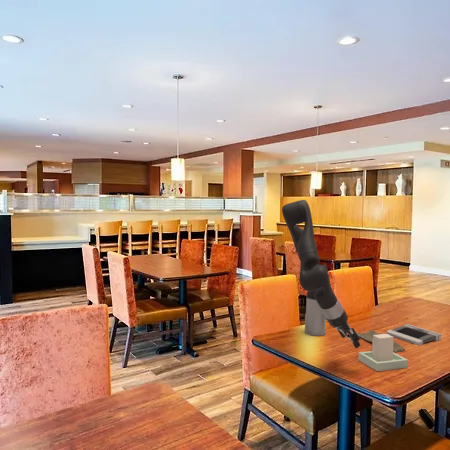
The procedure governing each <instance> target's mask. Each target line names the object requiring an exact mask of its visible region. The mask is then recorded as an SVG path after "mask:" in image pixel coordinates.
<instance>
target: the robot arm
mask: <svg viewBox="0 0 450 450" xmlns="http://www.w3.org/2000/svg"><path fill="white" fill-rule="evenodd" d="M281 212H282V216H283V220H284V222H285V224H286V226H287V229H288V232H289V233H290V236H291V239H292V242H293V245H294V248H295V252H296V254H297V257H298V259H299V262H300V267H299V269H300V270H299V283H300V286H301V288H302V289H303V290H304V291H307V292H306V306H305V308H306V309H305V310H306V311H305V315H304V334H307V335H310V336H314V337H316V336H317V337H319V336H320V337H321V336H325V335H326V328H327V327H326V322H328V325H330V326H331V327H333V328H334V329H335V330H336V331H337V332H338V333H339V335H340V336H341V338H342V339H345V338H347V339H349V341H351V343H352V345H353V347H354V349H358V348H360V347H361V343H360V340H361V337H358V335H357V333H358V332H356V330H355V328H354V327H351V326H350V324H349V323H348V320H349V315H348V314H347V312H346V311H345V308H344V306H343V305H342V302H341V301H340V300H339V299H338V298H337V296H336V294H335V293H334V290H333V288H332V285H331V279H330V274H329V270H328V267H327V265H325V264H324V265H323V264H319V263H320V256H319V253H318V247H317V243H316V239H315V233H314V225H313V218H312V217H313V216H312V212H311V208H310V205H309V203H308V202H307V200H306V199H300V200H296V201H292V202H290V203H286V204H284V205H283V206H282V208H281ZM303 223H304V227H303V228H301V227H299V225H300V224H303Z"/></svg>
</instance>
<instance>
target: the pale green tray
mask: <svg viewBox="0 0 450 450" xmlns="http://www.w3.org/2000/svg"><path fill="white" fill-rule="evenodd" d="M357 360H358V361H360V362H361V363H363V364H364V365H366V366H368V367H369V368H371V369H372V370H374V371H376V372H384V371H392V370H398V369H406V368H408V366H409V359H408V358H405V357H403V356H401V355H400V354H398V353H396V352H393V360H390V361H382V362H377V361H375V360H374V359H372V350H371V351H370V350H369V351H360V352H358V359H357Z"/></svg>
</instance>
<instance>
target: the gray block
mask: <svg viewBox="0 0 450 450" xmlns="http://www.w3.org/2000/svg"><path fill="white" fill-rule="evenodd" d="M394 339H395V338H394V337H392V336H390V335H388V334H387V333H379V335H373V342H371V343H372V345H371V346H372V348H371V351H372V359H374V360H375V361H377V362H382V361H390V360H393V341H395V340H394Z"/></svg>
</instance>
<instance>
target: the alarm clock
mask: <svg viewBox="0 0 450 450" xmlns="http://www.w3.org/2000/svg"><path fill="white" fill-rule="evenodd" d="M386 334H388V335H390V336H392V337H394V339H397V340H401V341H403V342H406V343H408V344H412V345H417V346H419V347H420V346H423V345H424V344H425V343H428V342H431V341H441V337H442V334H441V333H439V332H436V331H432V330H429V329H426V328H423V327H422V328H421V327H419V326H417V325H416V326H415V325H413V324H409V323H406V325H405V324H404V325H401V326H398V327H394V328H393V329H388V330H387V331H386Z"/></svg>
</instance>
